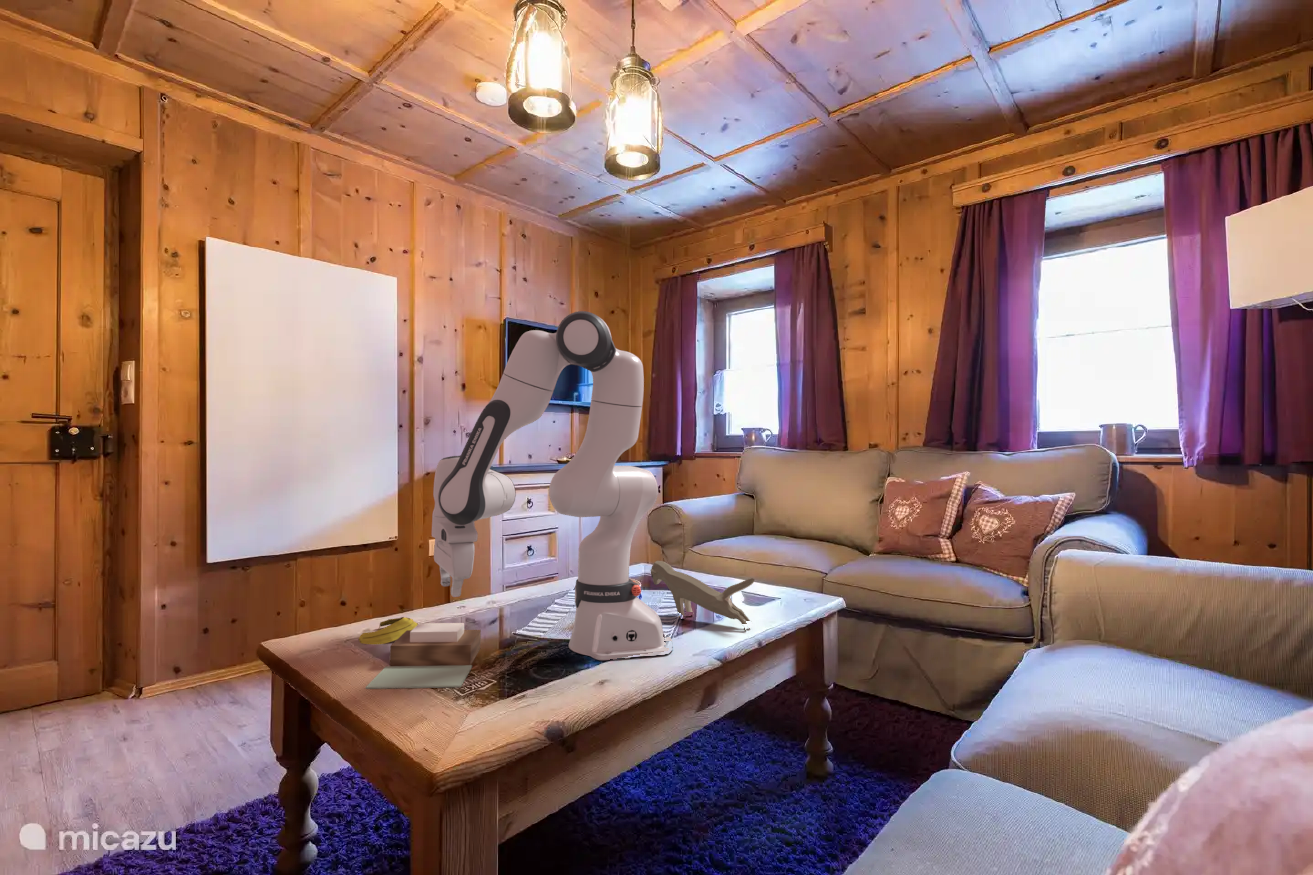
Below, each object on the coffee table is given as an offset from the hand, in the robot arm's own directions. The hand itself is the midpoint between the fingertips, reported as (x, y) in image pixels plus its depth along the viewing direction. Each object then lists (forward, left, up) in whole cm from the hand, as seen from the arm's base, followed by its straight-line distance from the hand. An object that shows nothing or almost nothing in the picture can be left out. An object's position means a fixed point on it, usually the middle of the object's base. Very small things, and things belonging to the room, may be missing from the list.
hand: (450, 590), depth 131 cm
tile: (-1, +12, -7) cm, 14 cm away
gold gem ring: (+12, -3, -11) cm, 17 cm away
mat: (-1, +23, -11) cm, 25 cm away
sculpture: (-58, -13, -11) cm, 61 cm away
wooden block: (-1, +12, -11) cm, 16 cm away
